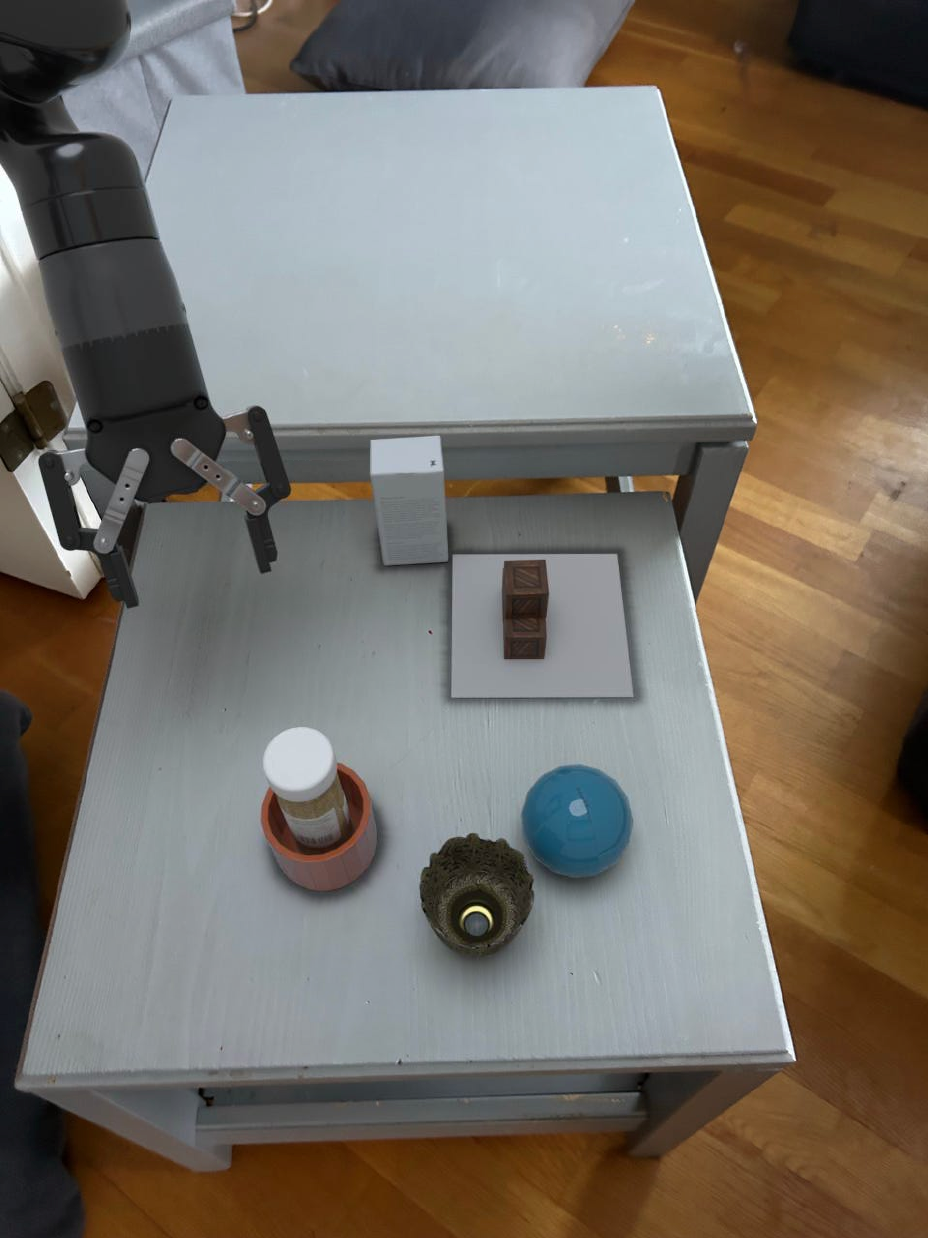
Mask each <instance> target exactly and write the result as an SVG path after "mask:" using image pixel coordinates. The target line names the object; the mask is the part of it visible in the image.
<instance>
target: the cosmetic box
mask: <svg viewBox="0 0 928 1238" xmlns="http://www.w3.org/2000/svg"><path fill="white" fill-rule="evenodd" d="M369 444H370V446H369V477H370V483H371V490H372V495H373V503H374V508H375V516H376V522H377V530H378V536H379V544H380V551H381V558H382V563H383V565H384V566H396V565H397V566H399V565H413V564H429V563H446V562H448V561H449V543H448V527H447V525H448V524H447V508H446V507H447V506H446V505H447V504H446V491H445V490H446V489H445V469H444V458H443V449H442V438H441V436H440V435H428V436H427V435H426V436H414V437H398V438H397V437H396V438H382V439H381V438H379V439H370V443H369Z"/></svg>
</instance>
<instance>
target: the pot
mask: <svg viewBox="0 0 928 1238" xmlns="http://www.w3.org/2000/svg"><path fill="white" fill-rule="evenodd" d="M337 774H338V777H339V781H340V784H341V787H342V790H343V792H344V794H345V797H346V801H347V804H348V808H349V812H350V817H351V819H352V821H353V823H354V826H355V833H354V834H353V836H352V837H351V838H350V840H348V841H347V842H346V843H344V844H343V845H342V846H340V847H339V848H338V849H336V850H333V851H330V852H328V853H325V854H322V855H308V856H307V855H303V854H300V852H299V850H298V848H297V846H296V843H295V838H294V836H293V835H292V833H291V831H290V828H289V826H288V824H287V821H286V819H285V817H284V814H283V812H282V810H281V807H280V805H279V802H278V798H277V795H276V793H275V792H274V791H273V790H272V789H271V787H270V786H269V787H268V789H267V791H266V793H265V796H264V799H263V801H262V803H261V810H260V824H261V827H262V830H263V834H264V837H265V839H266V841H267V843H268V845H269V847H270V849H271V851H272V854H273V856H274V857H275V860H276V861H277V864H278V866H279V867H280V868H281V870H282V872H283V873H284V874H285V876H286V877H287V878H288V879H290V881H292V882H293V883H294V884H295V885H298V886H300V887H302V888H304V889H306V890H312V891H316V892H317V891H318V892H326V891H327V892H328V891H333V890H338V889H341V888H344V887H346V886H348V885H349V884H351V883H353V882H355V881H356V880H357V879H358V878H360V877H361V875H363V873H365V872H366V870H367V869H368V868H369V867H370V864H371V863H372V862H373V859H374V857H375V854H376V851H377V846H378V833H377V829H378V828H377V824H376V819H375V813H374V809H373V805H372V801H371V796H370V793H369V791H368V788H367V785H366V783H365V781H364V780H363V779H362V778H361V777H360V775H359V774H358V773H357V772H356V771H355V770H354V769H352V768H350V767H348V766H347V765H345V764H343V763H341V762H338V761H337Z"/></svg>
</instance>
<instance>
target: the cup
mask: <svg viewBox="0 0 928 1238" xmlns="http://www.w3.org/2000/svg"><path fill="white" fill-rule="evenodd" d="M419 879H420V881H419V887H418V888H419V897H420V900H421V902H420V907H421V910H422V912H423V914H424V915H425V918H426V920H427V922H428V924H429V925H430V928H431V929H432V931H433V932H434V933H435V935H436V936H437V938H438V939H439V940H440V941H441V942H442V943H443V944H444V945H445V946H446V947H448V948H449V949H450V950H451V951H454V952H455V953H458V954H460V955H462V956H466V957H474V958H482V957H488V956H491V955H494V954H496V953H498V952H500V951H502V950H503V949H505V948H506V947H507V946H508V945H510V944H511V943H512V942H513V941H514V940H515V939H516V937H517V936H518V934H519V933H520V932H521V930H522V928H523V927H524V924H525V923H526V921H527V920H528V918H529V916H530V913H531V911H532V908H533V905H534V901H535V891H534V890H533V884H534V880H535V878H534V875H533V874H532V873H530V872H529V867H528V862H527V860H526V858H525V855H524V854H523V853H522V852H521V851H520V850H519V849H517V848H515V847H511V844H510V843H509V841H508V840H507V839H505V838H502V837H499V838H498V839H496V840H495V841H493V840H491V839H490V838H486V839H484V838H480V836H479V833H477V832H470V833H468V834H467V835H466V836H465V837H464V836H454V837H451V838H448V839H447V840H446V841H445V842H444V843H443V844H442V846H441V848H440V849H439V851H434V852H432V853H430V854H429V865H428V866H424V867H423V868H422V870H421V873H420V878H419ZM475 913H476V914H477V913H478V914H480V915H483V916H484V917H485V919H486V921H487V928H486V930H485V931H484V932H483V933H482V934H479V935H474V934H471V933H470V932H469V931H468V930H467V928H466V921H467V918H468V917H469V916H470V915H472V914H475Z"/></svg>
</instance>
